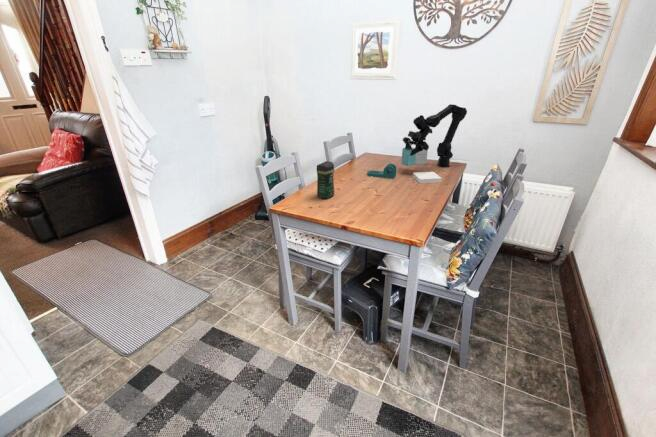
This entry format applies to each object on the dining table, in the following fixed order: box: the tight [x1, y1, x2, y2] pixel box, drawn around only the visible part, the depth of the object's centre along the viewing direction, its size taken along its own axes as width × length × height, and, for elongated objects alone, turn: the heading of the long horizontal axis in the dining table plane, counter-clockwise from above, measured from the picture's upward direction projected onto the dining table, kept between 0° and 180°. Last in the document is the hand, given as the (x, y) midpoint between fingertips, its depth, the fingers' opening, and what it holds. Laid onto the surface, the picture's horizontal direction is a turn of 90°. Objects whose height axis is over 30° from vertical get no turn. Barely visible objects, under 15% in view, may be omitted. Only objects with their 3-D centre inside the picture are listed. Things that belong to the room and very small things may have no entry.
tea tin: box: [401, 146, 416, 167], centre depth 191 cm, size 6×6×10 cm
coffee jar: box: [316, 160, 335, 199], centre depth 159 cm, size 10×8×19 cm
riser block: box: [412, 171, 443, 184], centre depth 184 cm, size 13×13×3 cm
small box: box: [415, 149, 429, 165], centre depth 214 cm, size 8×6×10 cm
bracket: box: [366, 163, 397, 180], centre depth 191 cm, size 18×7×8 cm, turn 67°
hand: (407, 154), depth 190 cm, fingers closed on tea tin, 6 cm apart
